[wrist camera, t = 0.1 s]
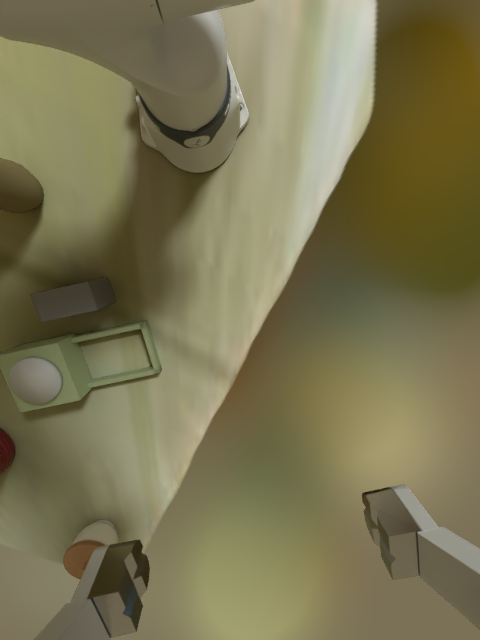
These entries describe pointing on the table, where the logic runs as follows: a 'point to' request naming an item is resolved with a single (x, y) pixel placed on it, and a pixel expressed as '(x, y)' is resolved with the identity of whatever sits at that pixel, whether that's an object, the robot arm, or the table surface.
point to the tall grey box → (73, 299)
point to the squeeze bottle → (18, 188)
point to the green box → (63, 368)
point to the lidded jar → (88, 545)
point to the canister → (5, 451)
